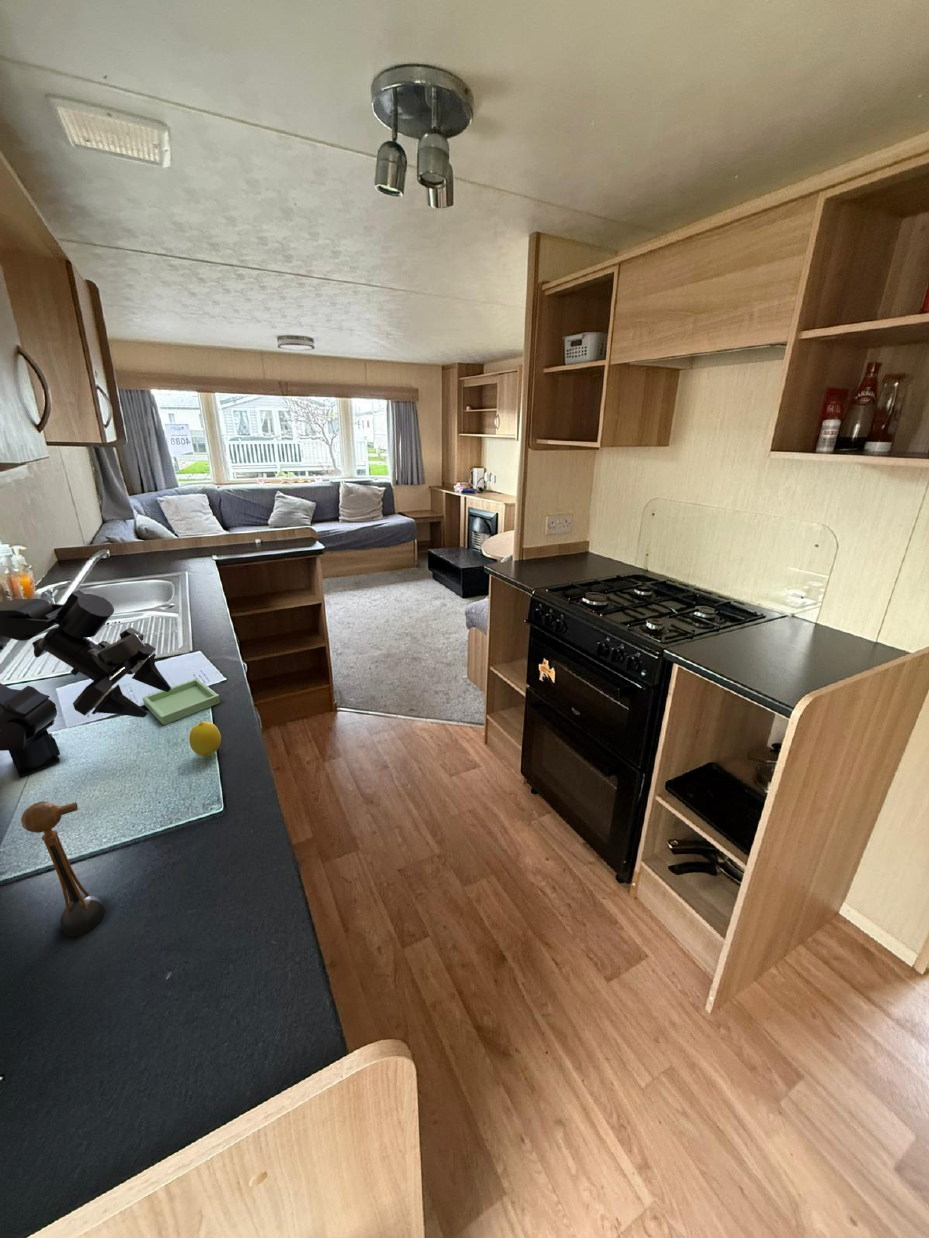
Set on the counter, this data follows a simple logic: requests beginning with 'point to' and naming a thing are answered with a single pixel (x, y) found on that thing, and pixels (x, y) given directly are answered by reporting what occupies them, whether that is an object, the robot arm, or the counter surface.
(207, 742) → the lemon
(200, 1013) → the counter surface
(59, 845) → the wooden tabletop sculpture
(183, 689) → the tray
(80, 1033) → the counter surface
